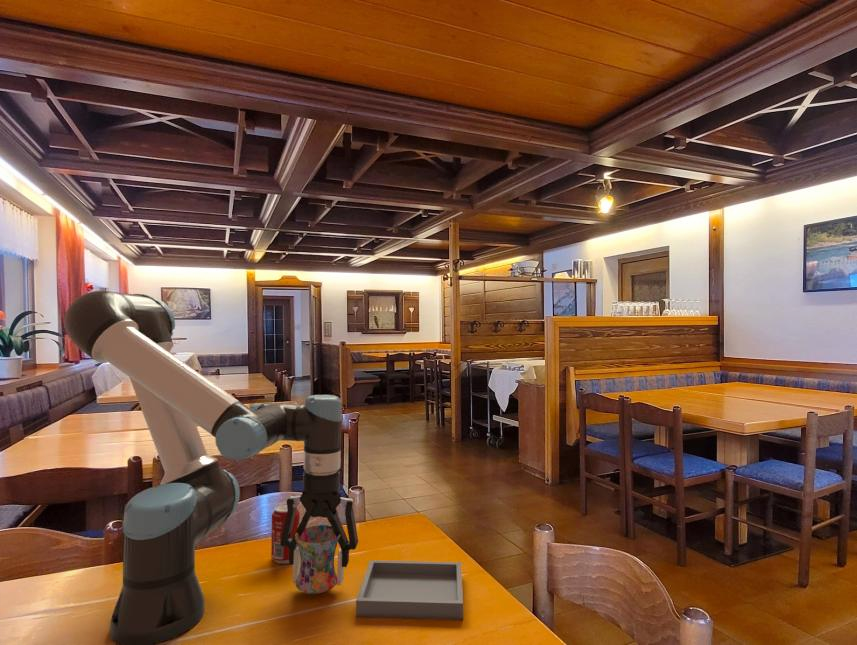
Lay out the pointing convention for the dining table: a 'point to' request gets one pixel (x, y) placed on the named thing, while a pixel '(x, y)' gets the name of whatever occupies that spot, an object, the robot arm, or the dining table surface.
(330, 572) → the mug
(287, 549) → the beverage can
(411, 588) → the tray
